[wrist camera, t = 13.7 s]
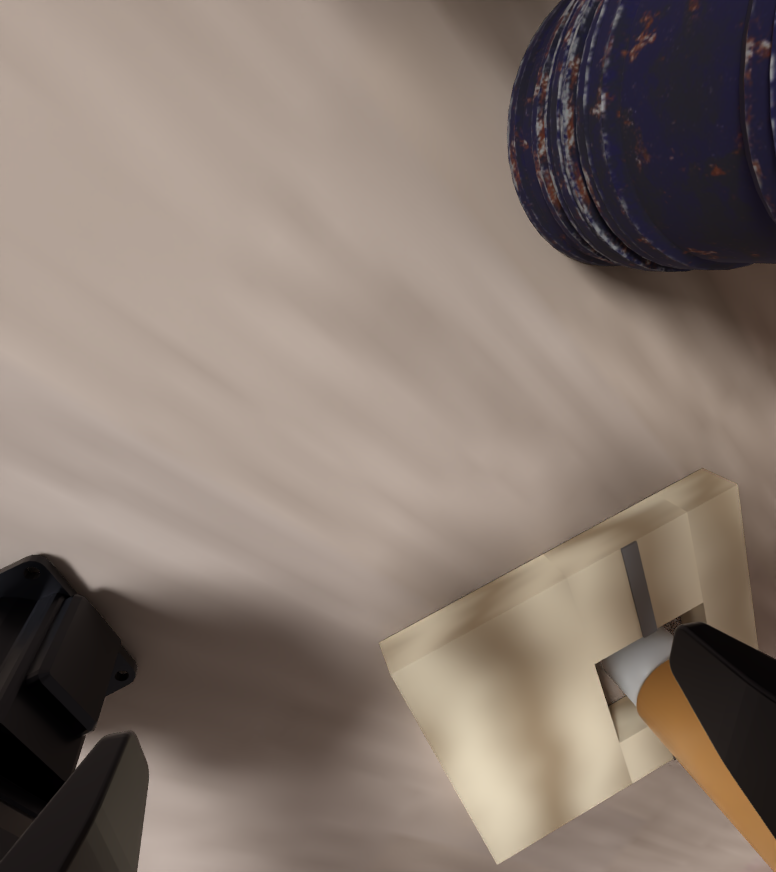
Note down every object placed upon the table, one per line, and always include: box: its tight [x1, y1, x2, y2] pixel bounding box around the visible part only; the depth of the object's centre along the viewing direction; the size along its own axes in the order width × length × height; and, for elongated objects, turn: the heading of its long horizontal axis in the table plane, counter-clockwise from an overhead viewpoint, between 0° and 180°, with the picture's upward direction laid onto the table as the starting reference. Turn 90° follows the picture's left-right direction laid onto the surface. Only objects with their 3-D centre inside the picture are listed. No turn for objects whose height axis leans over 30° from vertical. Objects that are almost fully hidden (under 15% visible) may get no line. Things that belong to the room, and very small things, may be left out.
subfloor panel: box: [379, 468, 758, 865], centre depth 27 cm, size 18×16×2 cm
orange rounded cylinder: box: [602, 626, 776, 872], centre depth 23 cm, size 4×4×12 cm
